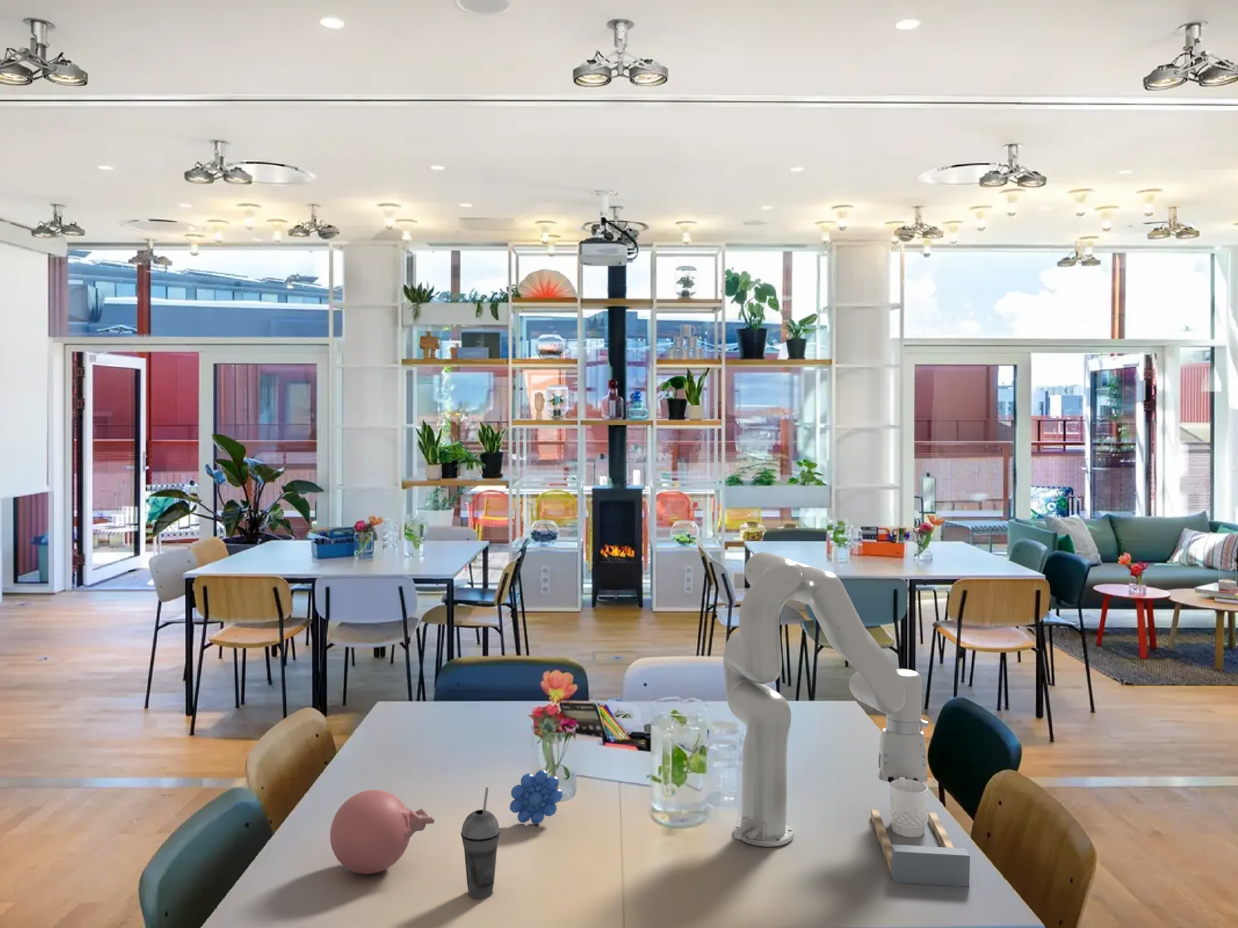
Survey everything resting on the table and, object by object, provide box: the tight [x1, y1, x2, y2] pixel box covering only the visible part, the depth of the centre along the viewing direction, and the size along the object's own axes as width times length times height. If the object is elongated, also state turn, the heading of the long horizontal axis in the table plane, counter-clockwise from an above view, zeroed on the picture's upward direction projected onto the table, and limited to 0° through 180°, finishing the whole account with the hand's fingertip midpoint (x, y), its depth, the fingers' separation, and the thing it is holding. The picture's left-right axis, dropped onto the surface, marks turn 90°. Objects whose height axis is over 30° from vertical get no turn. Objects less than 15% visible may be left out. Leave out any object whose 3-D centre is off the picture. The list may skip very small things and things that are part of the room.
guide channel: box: [870, 808, 955, 873], centre depth 195 cm, size 27×14×2 cm, turn 173°
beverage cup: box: [460, 787, 501, 900], centre depth 174 cm, size 7×7×20 cm
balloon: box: [329, 789, 435, 875], centre depth 183 cm, size 15×20×15 cm
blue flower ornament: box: [509, 769, 564, 825], centre depth 206 cm, size 12×7×12 cm, turn 89°
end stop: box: [890, 843, 971, 887], centre depth 180 cm, size 3×14×6 cm, turn 83°
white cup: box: [889, 778, 929, 838], centre depth 202 cm, size 8×8×10 cm
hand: (902, 805), depth 209 cm, fingers closed
